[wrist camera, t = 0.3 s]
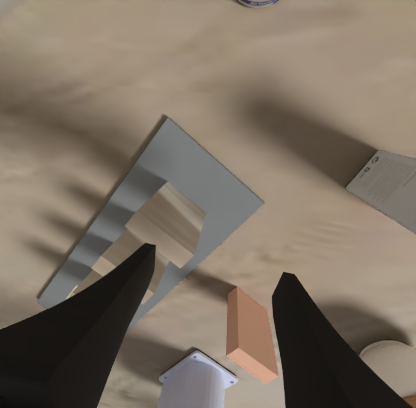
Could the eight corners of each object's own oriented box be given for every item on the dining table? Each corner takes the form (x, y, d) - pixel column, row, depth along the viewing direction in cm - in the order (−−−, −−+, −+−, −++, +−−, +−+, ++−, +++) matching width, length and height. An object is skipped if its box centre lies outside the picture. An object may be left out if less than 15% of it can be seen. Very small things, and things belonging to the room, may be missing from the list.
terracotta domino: (257, 316, 27) (265, 383, 20) (227, 293, 26) (226, 355, 20) (266, 309, 27) (278, 376, 20) (237, 286, 26) (238, 347, 19)
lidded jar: (321, 358, 29) (359, 462, 20) (390, 311, 25) (474, 415, 16) (380, 394, 30) (440, 506, 21) (454, 355, 26) (565, 472, 17)
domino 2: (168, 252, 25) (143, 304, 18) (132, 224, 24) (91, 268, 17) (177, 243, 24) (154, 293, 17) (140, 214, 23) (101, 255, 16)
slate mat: (110, 344, 32) (108, 348, 32) (39, 299, 30) (36, 302, 30) (263, 201, 22) (264, 203, 21) (169, 117, 20) (167, 117, 19)
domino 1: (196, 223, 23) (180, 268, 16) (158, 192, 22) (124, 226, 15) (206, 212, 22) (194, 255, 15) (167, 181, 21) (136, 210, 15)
